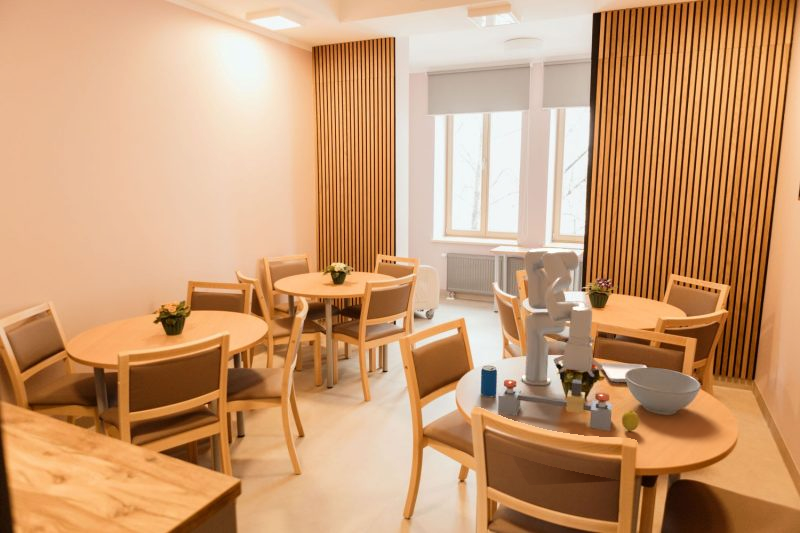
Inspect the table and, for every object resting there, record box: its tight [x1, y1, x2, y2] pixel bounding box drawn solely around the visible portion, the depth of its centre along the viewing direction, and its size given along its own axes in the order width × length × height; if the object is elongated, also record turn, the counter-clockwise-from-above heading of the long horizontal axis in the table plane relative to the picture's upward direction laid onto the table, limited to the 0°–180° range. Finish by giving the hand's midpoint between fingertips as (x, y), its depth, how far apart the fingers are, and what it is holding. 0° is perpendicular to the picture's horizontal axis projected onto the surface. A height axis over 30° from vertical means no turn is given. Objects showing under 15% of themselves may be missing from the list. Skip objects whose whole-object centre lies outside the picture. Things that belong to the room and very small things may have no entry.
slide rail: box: [497, 386, 613, 432], centre depth 208 cm, size 9×41×7 cm, turn 67°
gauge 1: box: [503, 379, 517, 395], centre depth 214 cm, size 5×5×7 cm
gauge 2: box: [594, 392, 610, 409], centre depth 201 cm, size 5×5×7 cm
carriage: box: [565, 378, 586, 415], centre depth 204 cm, size 6×6×11 cm
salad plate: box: [599, 362, 648, 383], centre depth 250 cm, size 21×21×3 cm
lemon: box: [621, 409, 640, 432], centre depth 196 cm, size 6×6×8 cm
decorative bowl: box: [625, 367, 701, 416], centre depth 215 cm, size 27×27×12 cm
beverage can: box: [480, 365, 498, 398], centre depth 228 cm, size 6×6×12 cm
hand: (576, 383), depth 204 cm, fingers open, 9 cm apart
